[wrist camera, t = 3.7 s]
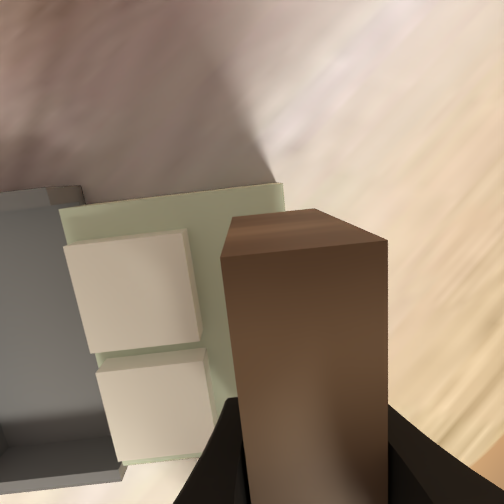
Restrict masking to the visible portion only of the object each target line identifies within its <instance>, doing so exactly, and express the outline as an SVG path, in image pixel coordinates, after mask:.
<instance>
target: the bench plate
mask: <svg viewBox="0 0 504 504" xmlns="http://www.w3.org/2000/svg"><path fill="white" fill-rule="evenodd" d="M275 212H285V203H284V192H283V183H267V184H259V185H250V186H241V187H233V188H224V189H215V190H207V191H198V192H190V193H181V194H172V195H164V196H155V197H146V198H138V199H129V200H120V201H112V202H103V203H94V204H87V205H81V206H75V207H69V208H63V209H59V213H60V217H61V221H62V225H63V229H64V233H65V237H66V241H67V245H68V244H71V243H74V242H76V241H82V240H90V239H99V238H108V237H116V236H125V235H134V234H142V233H151V232H160V231H169V230H177V229H186V228H187V231H188V237H189V244H190V250H191V256H192V262H193V268H194V275H195V281H196V287H197V293H198V299H199V306H200V312H201V318H202V324H203V332H202V335H201V339H200V341H198V342H189V343H180V344H171V345H162V346H154V347H145V348H136V349H127V350H118V351H110V352H101V353H95V356H96V360H97V364H98V368H100V366H101V365H102V364H103V362H104V361H105V360H106V359H107V358H116V357H125V356H134V355H143V354H151V353H160V352H169V351H178V350H187V349H196V348H204V347H206V349H207V355H208V361H209V367H210V374H211V380H212V386H213V392H214V398H215V405H216V411H217V417H218V419H219V416H220V414H221V411H222V408H223V406H224V403H225V401H226V400H227V398H231V397H238V395H237V388H236V380H235V372H234V364H233V356H232V348H231V341H230V333H229V325H228V317H227V309H226V302H225V294H224V286H223V278H222V270H221V262H220V256H221V252H222V249H223V246H224V243H225V239H226V236H227V233H228V230H229V226H230V223H231V220H232V217H236V216H246V215H256V214H265V213H275ZM202 453H203V452H200V453H191V454H182V455H173V456H164V457H155V458H147V459H138V460H129V461H122V463H123V466H127V465H136V464H145V463H154V462H163V461H172V460H180V459H189V458H198V457H200V456H201V454H202Z"/></svg>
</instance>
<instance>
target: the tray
mask: <svg viewBox="0 0 504 504" xmlns="http://www.w3.org/2000/svg"><path fill="white" fill-rule="evenodd" d="M81 205H85V202H84V197H83V193H82V189H81V186H61V187H43V188H34V189H25V190H17V191H8V192H0V495H3V494H12V493H21V492H30V491H39V490H48V489H56V488H65V487H74V486H83V485H92V484H101V483H110V482H119V481H122V479H123V477H124V474H125V472H126V469H127V467H128V465H127V466H123V463H122V461H120V462H118V460H117V456H116V452H115V448H114V444H113V440H112V436H111V433H110V429H109V425H108V421H107V417H106V413H105V409H104V405H103V401H102V397H101V393H100V390H99V386H98V382H97V378H96V374H95V373H96V372H97V370H98V369H99V368H98V364H97V360H96V356H95V353H92V354H90V351H89V347H88V343H87V339H86V335H85V331H84V327H83V323H82V319H81V315H80V312H79V308H78V304H77V300H76V296H75V292H74V288H73V284H72V280H71V276H70V273H69V269H68V265H67V261H66V257H65V253H64V249H63V246H66V245H67V241H66V237H65V233H64V229H63V225H62V221H61V217H60V213H59V209H63V208H69V207H75V206H81Z"/></svg>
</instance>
